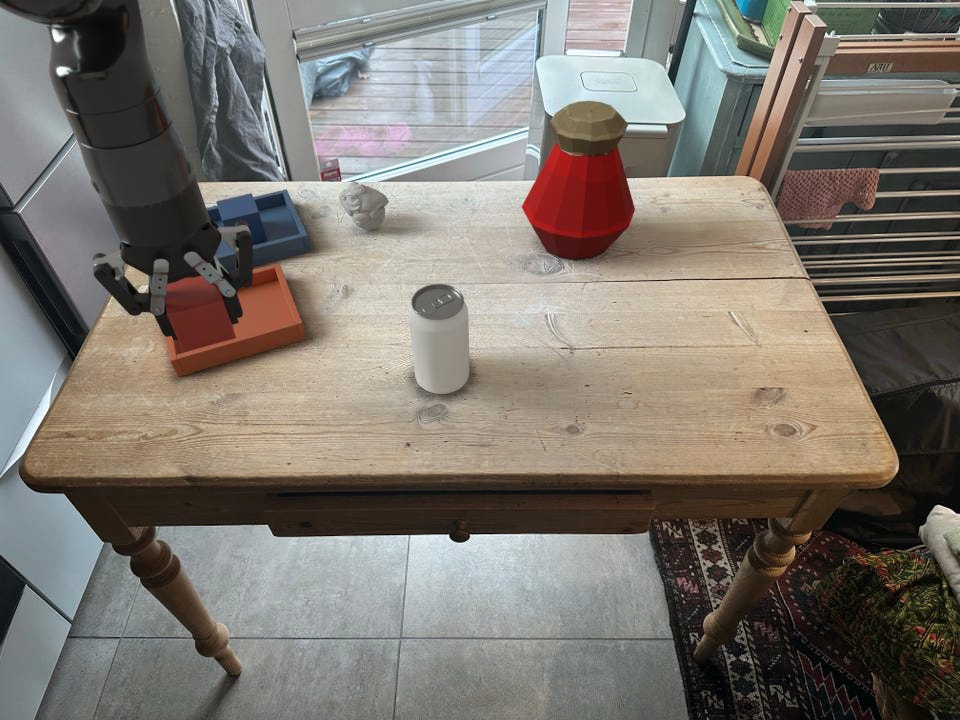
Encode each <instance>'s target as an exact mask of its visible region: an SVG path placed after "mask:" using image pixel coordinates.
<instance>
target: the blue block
mask: <svg viewBox="0 0 960 720" xmlns="http://www.w3.org/2000/svg"><path fill="white" fill-rule="evenodd" d="M253 197H254V196H253V193H247V194H242V195H237V196H234V197H229V198H224V199H220V200H217V201H215V203H216V206H218V209H219V212H220V215H221V219H222V222H223V225H224V227H234V226H235V223H236V222H237V221H241V220H242V221H245V222H246V223H247V224H248V227H249V230H250V233H251V236H252V239H253V244H256V243H260V242H264V241H267V238H266V235H265V231H264V228H263V224H262V221H261V217H260V214H259V211H258V208H257V205H256V203H255V200H254V198H253Z"/></svg>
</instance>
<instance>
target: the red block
mask: <svg viewBox="0 0 960 720" xmlns="http://www.w3.org/2000/svg"><path fill="white" fill-rule="evenodd" d="M165 305H166V311H167V316H168V318H169V320H170V322H171V325H172V327H173V329H174V331H175V333H176V336H177V338H178V340H179V342H180V344H181V347H182V349H183V351H184V352H188V351H192V350H195V349H199V348H202V347H206V346H210V345H213V344H217V343H221V342H224V341H228V340H231V339H235V338H236V335H235V332H234V328H233V325H232V323H231V320H230V317H229V315H228V312H227V309H226V306H225V304H224V301H223V298H222V294H221V292H220V291H219V290H218V289H217V288H216V287H215V286H214V285H210V284H209V283H208V282H207V281H206V280H205V279H204V278H203V277H202V276H198V277H194V278H183V279H181V280H179V281H177V282H174V283H170V284H167V295H166V298H165Z"/></svg>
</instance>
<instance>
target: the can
mask: <svg viewBox="0 0 960 720" xmlns="http://www.w3.org/2000/svg"><path fill="white" fill-rule="evenodd" d="M410 302H411V303H410V307H409V309H408V324H409V333H410V342H411V351H412V360H413V370H414V378H415V381H416V383H417V384H418V386H420V387H421V388H422V389H424V390H425V391H427V392H429V393H431V394H436V395H448V394H452V393H455V392H456V391H458V390H460V389H461V388H463V387H464V386H465V385H466V383H467V382H468V379H469V377H470V330H469V329H470V328H469V327H470V326H469V325H470V323H469V309H468V305H467V303H466V302H465V298H464V295H463V293H462V292H461V291H460V290H459V289H458V288H456V287H454V286H453V285H449V284H445V283H432V284H428V285H425V286H422V287H420V288H419V289H418V290H416V291H415V292H414V294H413V295H412V297H411V301H410Z"/></svg>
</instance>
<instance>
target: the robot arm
mask: <svg viewBox="0 0 960 720" xmlns="http://www.w3.org/2000/svg"><path fill="white" fill-rule="evenodd" d="M0 9H1V10H4V11H6V12H7V13H10V14H11V15H14V16H16V17H18V18H21V19H23V20H27V21H29V22H31V23H35V24H38V25H42V26H46V28H47V32H48V35H49V40H50V55H49V60H48V74H49V78H50V82H51V85H52V87H53V88H52V89H53V91H54V95H55V96H56V98H57V100H58V102H59V105H60V107H61V109H62V111H63V113H64V115H65V118H66V120H67V122H68V124H69V126H70V128H71V131H72V132H73V135H74V137H75V140H76V141H77V144H78V147H79V151H80V154H81V157H82V160H83V164H84V166H85V168H86V171H87V174H88V175H89V177H90V183H91V185H92V188H93V189H94V190H95V192H96V193H97V194H98V197H99V198H100V200H101V203H102V205H103V207H104V209H105V211H106V213H107V215H108V218H109V220H110V222H111V224H112V227H113V228H114V230H115V232H116V234H117V237H118V239H119V241H120V243H119V249H118V250H115V251H114V252H112V253H109V254H105V253H102V252H98V253H95V254H94V255H93V256H92V270H93V277H94V278H95V279H96V280H97V281H98V283H100V284H101V286H102V287H103V288H104V289H105V290H106V291H107V292H108V293H109V294H110V296H112V297H113V299H114V300H115V301H116V302H117V303H118V304H119V305H120V306H121V307H122V308H123V309H124V310H125V311H126V312H127V314H128V315H130V316H133V317H138V316H140V315H141V314H142V313H148V314H152V315H153V316H154V319H155V321H156V323H157V325H158V327H159V329H160V331H161V333H162V335H163V336H164V337H165V338H166V337H169V336H172V338H173V340H174V341H175V340H178V338H177V336H176V333H175V331H174V329H173V327H172V325H171V322H170V320H169V318H168V316H167V311H166V305H165V298H166V295H167V284H170V283H174V282H177V281H179V280H181V279H183V278H194V277H198V276H202V277H203V278H204V279H205V280H206V281H207V282H208V283H209V284H210V285H214V286H215V287H216V288H217V289H218V290H219V291H220V292H221V294H222V298H223V301H224V304H225V306H226V309H227V312H228V315H229V317H230V320H231V323H232V325H234V324H237V323H239V321H238V318H240V317H242V316H243V311H242V307H241V304H240V301H239V298H238V295H237V291H238V290H239V289H240V288H241V287H249V286H251V285H252V283H253V270H254V266H253V239H252V236H251V233H250V230H249V227H248V224H247V223H246V222H245V221H242V220H241V221H237V222H236V223H235V226H234V227H218V225H217V224H216V223H215V222H214V221H212V220H211V218H210V217H209V215H208V212H207V209H206V208H207V206H206V203H205V200H204V197H203V195H202V191H201V188H200V185H199V183H198V180H197V177H196V174H195V171H194V167H193V164H192V160H191V159H190V157H189V154H188V151H187V148H186V145H185V143H184V140H183V138H182V136H181V134H180V132H179V130H178V128H177V126H176V124H175V122H174V120H173V117H172V115H171V111H170V108H169V105H168V103H167V100H166V97H165V93H164V91H163V89H162V85H161V83H160V80H159V78H158V74H157V72H156V70H155V68H154V66H153V63H152V61H151V57H150V53H149V49H148V44H147V38H146V32H145V27H144V21H143V20H144V19H143V16H142V15H143V14H142V11H141V6H140V1H139V0H0ZM221 241H225V242H226V243H228V246H229V248H230V249H231V250H233V251H235V269H234V270H233V271H231V272H229V273H228V271H227V270H226V269H225V268H224V267H223V266H222V265H221V264H220V263H219V261H218V259H217V258H216V257H215V254H216V251H217V249H218V247H219V245H220V243H221ZM125 265H128V266H130V267H131V268H133V269H136V271H139V272H140V273H142V274H145V275H147V277H148V286H147V287H148V289H147V292H140V291H138V289H137V288H136V287H135V286H134V285H133V284H132V282H131V281H130V280H129V279H128V278H127V277H126V275H125Z"/></svg>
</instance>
